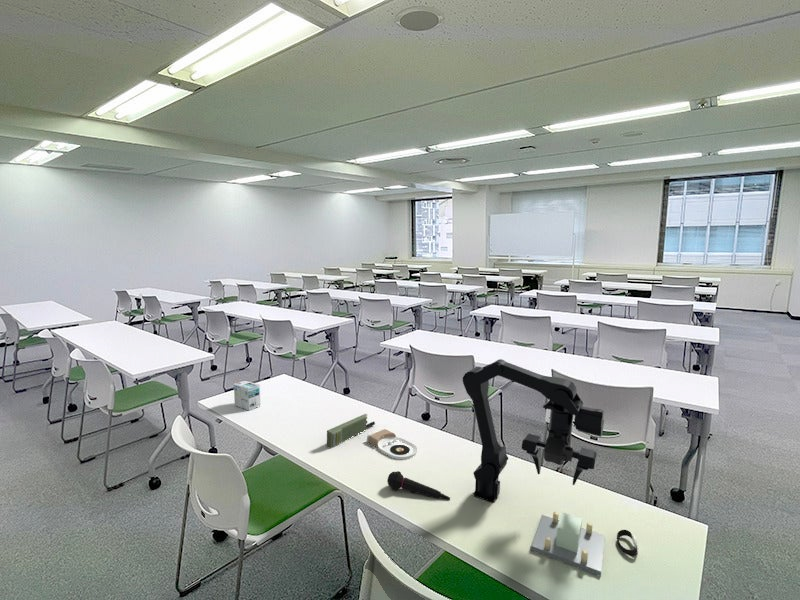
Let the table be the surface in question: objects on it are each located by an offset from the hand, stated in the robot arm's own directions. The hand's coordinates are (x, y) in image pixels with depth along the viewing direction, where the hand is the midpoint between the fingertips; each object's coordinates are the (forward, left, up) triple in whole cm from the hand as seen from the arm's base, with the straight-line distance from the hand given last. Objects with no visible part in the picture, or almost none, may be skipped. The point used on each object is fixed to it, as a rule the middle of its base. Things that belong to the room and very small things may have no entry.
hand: (555, 479), depth 114 cm
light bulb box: (-137, +9, -12) cm, 138 cm away
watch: (+18, -2, -12) cm, 22 cm away
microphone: (-38, -10, -12) cm, 41 cm away
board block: (+5, -9, -11) cm, 15 cm away
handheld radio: (-78, +10, -12) cm, 79 cm away
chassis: (+5, -9, -12) cm, 16 cm away
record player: (-59, +11, -12) cm, 61 cm away
